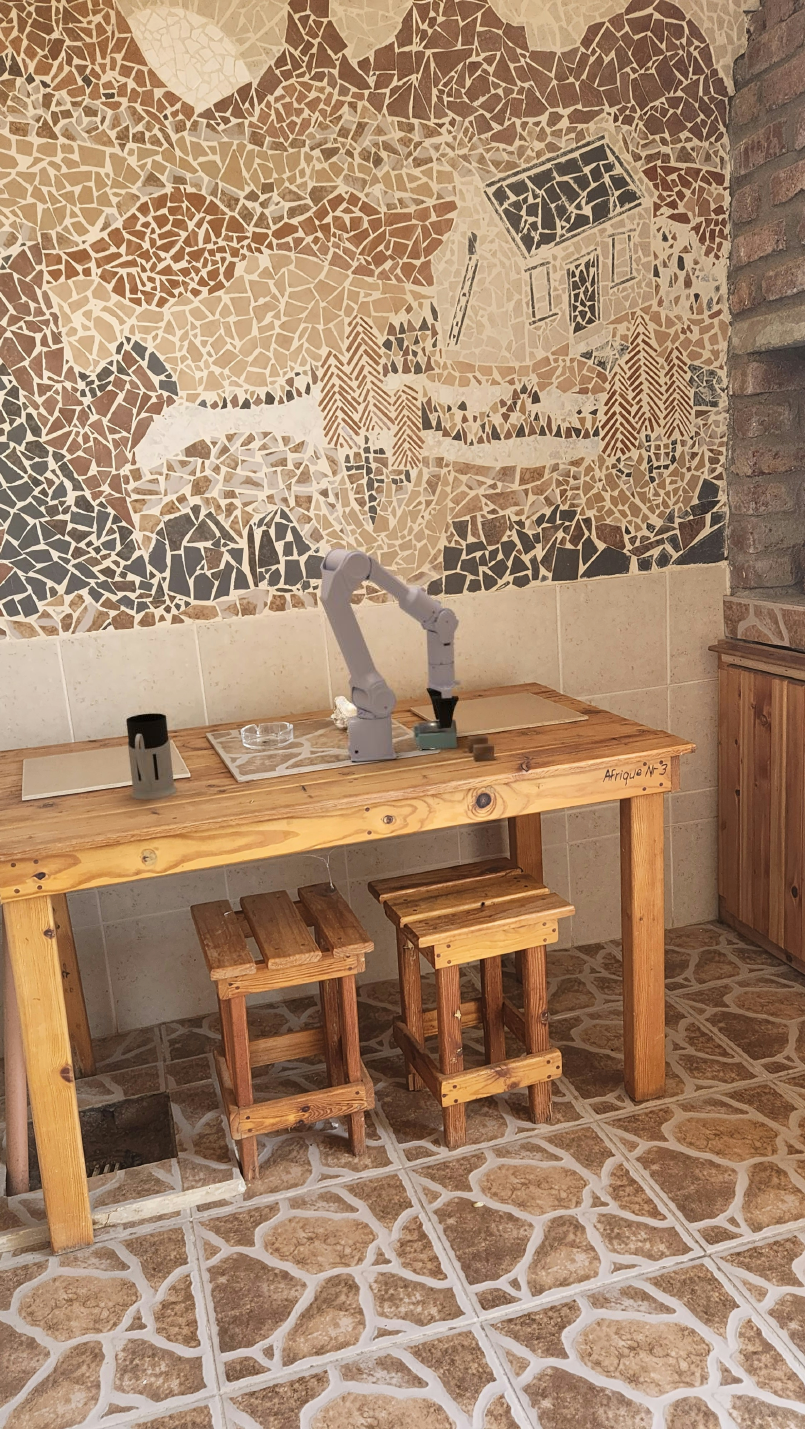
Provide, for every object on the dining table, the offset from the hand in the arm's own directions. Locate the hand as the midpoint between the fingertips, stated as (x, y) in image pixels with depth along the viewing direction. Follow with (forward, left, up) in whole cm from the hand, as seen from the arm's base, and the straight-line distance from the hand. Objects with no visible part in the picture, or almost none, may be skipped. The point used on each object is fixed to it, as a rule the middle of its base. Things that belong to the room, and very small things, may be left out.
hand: (443, 723), depth 236 cm
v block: (-2, 0, -4) cm, 5 cm away
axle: (-1, 0, -3) cm, 4 cm away
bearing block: (+6, -12, -4) cm, 14 cm away
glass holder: (-60, -23, -4) cm, 65 cm away
